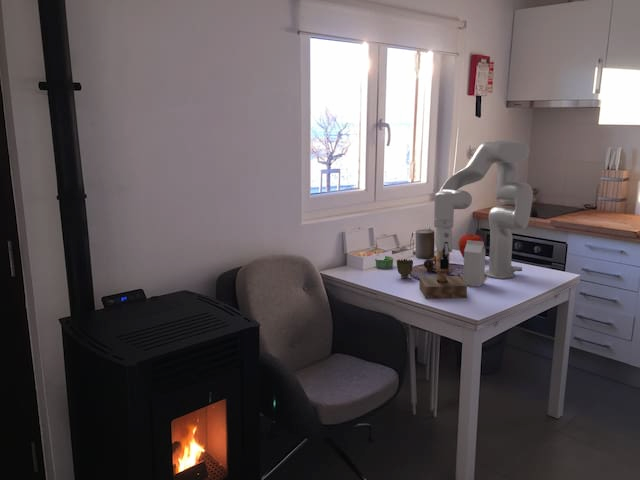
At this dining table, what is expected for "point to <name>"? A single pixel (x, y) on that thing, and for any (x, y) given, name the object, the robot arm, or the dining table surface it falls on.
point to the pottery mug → (430, 263)
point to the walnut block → (443, 287)
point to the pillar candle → (425, 243)
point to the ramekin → (385, 262)
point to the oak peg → (440, 271)
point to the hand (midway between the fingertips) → (442, 266)
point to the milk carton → (474, 263)
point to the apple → (464, 241)
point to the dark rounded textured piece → (404, 267)
